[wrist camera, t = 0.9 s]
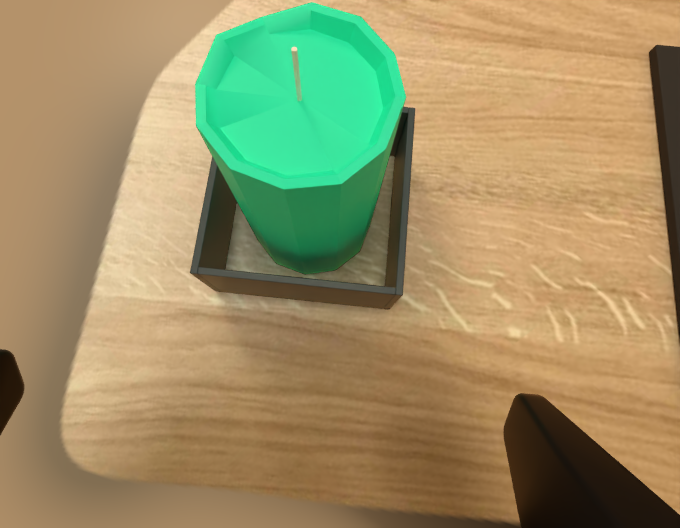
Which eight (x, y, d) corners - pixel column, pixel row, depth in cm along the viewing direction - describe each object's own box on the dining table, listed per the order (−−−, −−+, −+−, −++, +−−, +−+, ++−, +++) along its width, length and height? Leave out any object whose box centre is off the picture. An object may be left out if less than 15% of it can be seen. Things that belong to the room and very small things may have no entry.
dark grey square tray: (389, 309, 21) (402, 295, 17) (215, 291, 21) (189, 273, 17) (400, 151, 23) (415, 107, 19) (242, 135, 23) (225, 87, 19)
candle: (375, 171, 23) (423, -35, 11) (364, 281, 21) (406, 174, 10) (263, 159, 23) (196, -60, 11) (245, 267, 21) (146, 145, 10)
